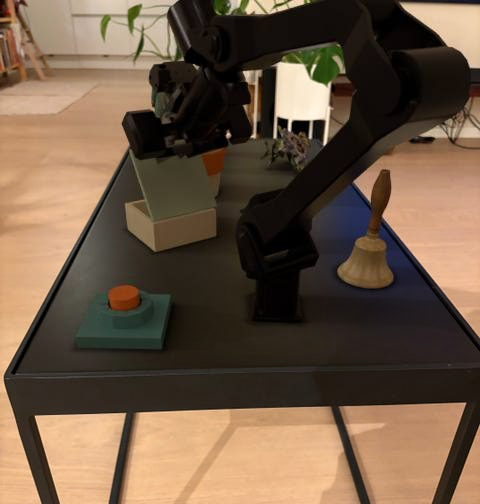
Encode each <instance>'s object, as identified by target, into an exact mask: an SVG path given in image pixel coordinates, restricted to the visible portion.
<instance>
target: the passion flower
mask: <svg viewBox="0 0 480 504" xmlns="http://www.w3.org/2000/svg"><path fill="white" fill-rule="evenodd" d="M277 130H278V132H279V134H280V137H281V140H279V139H278V138H274V142H273V144H272V145H271V148H269V146H268V140H267V139H263V144H264V146H265V148H266V149H267V150H266V151H265V152H264V153H262V154H263V155H261V157H260V160H263V159H265V158H266V157H268V156H269V161H268V165H267V169H270V166H271V165H272V164H273V163H274V162H276V160H277V158H279V157H280V158H282V159H284V158H285V156H286V157H287V163H288V164H291V166H292V167H293V169H294V171H295V172H297V174H298V173H299V172H300V171H301V170H302V169H303V168H304V167H305V165H307V164H308V162H307V161H308V158H309V157H308V155H309V150H308V149H307V148H306V147H309V148H311V147H312V144H311V141H310V140H309V139H308V137H307V134H306V132H305V131H300V132H299V133H298V135H297V134H295V133H296V132H294V131H291V130H289V129H288V128H285V127H284V128H283V129H282V127H281V125H278V126H277Z"/></svg>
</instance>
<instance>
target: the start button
mask: <svg viewBox="0 0 480 504" xmlns="http://www.w3.org/2000/svg"><path fill="white" fill-rule="evenodd" d="M138 290H139V289H138V288H137V287H135V286H133V285H130V284H129V285H118V286H115V287H113V288H111V289H110V290H109V291H108V293H109V300H110V307H111V308H112V309H113V310H116V311H128V310H132V309H135V308H137V307H138V306H139V305H140V298H139V291H138Z"/></svg>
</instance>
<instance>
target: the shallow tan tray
mask: <svg viewBox="0 0 480 504" xmlns="http://www.w3.org/2000/svg"><path fill="white" fill-rule="evenodd" d="M124 207H125V218H126V225H127V230H128V231H129V232H130V233H131V234H132V235H134V236H135V237H136V238H137V239H139V240H140V241H141V242H142V243H144V244H145V246H147V247H148V248H150V249H151V250H152V251H153V252H154V253H159V252H163V251H165V250H170V249H173V248H177V247H180V246H185V245H189V244H192V243H196V242H200V241H203V240H208V239H211V238H214V237H215V238H216V237H217V209H216V208H212V209H207V210H203V211H199V212H195V213H190V214H186V215H182V216H177V217H173V218H169V219H164V220H160V221H156V222H152V220H151V217H150V214H149V211H148V208H147V205H146V202H145V198H144V199H140V200H135V201H130V202H125V203H124Z"/></svg>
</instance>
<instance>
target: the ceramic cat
mask: <svg viewBox="0 0 480 504" xmlns="http://www.w3.org/2000/svg"><path fill="white" fill-rule="evenodd" d="M150 97H151V103H150V104H151V107H152V108H154V113H155V115H156V118H159V117H160V119H161V122H162V117H163V114H165V113H167V112H169V109H168V107H167V104H168V102H169V100H170V99H169V98H168V97H167V96H166V94H165V93H164V92H162V93H156V92H155V91H154V89H153V88H152V87H151V96H150Z"/></svg>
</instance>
